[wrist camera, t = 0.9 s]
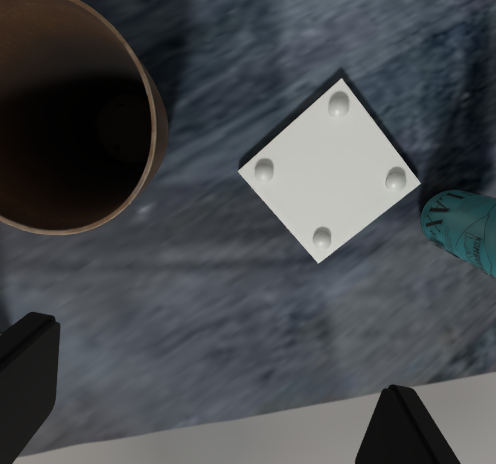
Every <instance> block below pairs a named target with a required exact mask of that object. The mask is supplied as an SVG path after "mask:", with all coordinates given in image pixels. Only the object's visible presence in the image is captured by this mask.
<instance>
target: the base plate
mask: <svg viewBox="0 0 496 464" xmlns="http://www.w3.org/2000/svg"><path fill="white" fill-rule="evenodd" d="M238 172H239V173H240V174H241V176H242V177H243V178H244V179H245V180H246V181H247V182H248V184H249V185H250V186H251V187H252V188H253V189H254V190H255V192H256V193H257V194H258V195H259V196H260V197H261V198H262V200H263V201H264V202H265V203H266V204H267V205H268V206H269V208H270V209H271V210H272V211H273V212H274V213H275V214H276V216H277V217H278V218H279V219H280V220H281V221H282V222H283V224H284V225H285V226H286V227H287V228H288V229H289V230H290V232H291V233H292V234H293V235H294V236H295V237H296V238H297V240H298V241H299V242H300V243H301V244H302V245H303V246H304V248H305V249H306V250H307V251H308V252H309V253H310V254H311V256H312V257H313V258H314V259H315V260H316V261H317V262H318V263H320V262H321V261H322V260H324V259H325V258H326V257H327V256H329V255H330V254H331V253H332V252H334V251H335V250H336V249H338V248H339V247H340V246H341V245H343V244H344V243H345V242H347V241H348V240H349V239H350V238H352V237H353V236H354V235H356V234H357V233H358V232H359V231H361V230H362V229H363V228H364V227H366V226H367V225H368V224H370V223H371V222H372V221H373V220H375V219H376V218H377V217H379V216H380V215H381V214H382V213H384V212H385V211H386V210H388V209H389V208H390V207H391V206H393V205H394V204H395V203H396V202H398V201H399V200H400V199H402V198H403V197H404V196H405V195H407V194H408V193H409V192H411V191H412V190H413V189H414V188H416V187H417V186H418V185H419V184H421V183H420V182H419V180H418V179H417V178H416V176H415V175H414V174H413V172H412V171H411V170H410V168H409V167H408V166H407V164H406V163H405V162H404V160H403V159H402V158H401V156H400V155H399V154H398V152H397V151H396V150H395V148H394V147H393V146H392V144H391V143H390V142H389V140H388V139H387V138H386V136H385V135H384V134H383V132H382V131H381V130H380V128H379V127H378V126H377V124H376V123H375V122H374V120H373V119H372V118H371V116H370V115H369V114H368V113H367V111H366V110H365V109H364V107H363V106H362V105H361V103H360V102H359V101H358V99H357V98H356V97H355V95H354V94H353V93H352V91H351V90H350V89H349V87H348V86H347V85H346V83H345V82H344V81H343V79H342V78H341V79H340V80H339V81H338V82H336V83H335V84H334V85H333V86H332V87H331V88H330V89H329V90H328V91H326V92H325V93H324V94H323V95H322V96H321V97H320V98H319V99H317V100H316V101H315V102H314V103H313V104H312V105H311V106H310V107H309V108H307V109H306V110H305V111H304V112H303V113H302V114H301V115H300V116H299V117H297V118H296V119H295V120H294V121H293V122H292V123H291V124H290V125H289V126H287V127H286V128H285V129H284V130H283V131H282V132H281V133H280V134H279V135H277V136H276V137H275V138H274V139H273V140H272V141H271V142H270V143H269V144H267V145H266V146H265V147H264V148H263V149H262V150H261V151H260V152H259V153H257V154H256V155H255V156H254V157H253V158H252V159H251V160H250V161H248V162H247V163H246V164H245V165H244V166H243V167H242V168H241V169H240V170H238Z"/></svg>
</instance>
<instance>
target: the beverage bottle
mask: <svg viewBox="0 0 496 464" xmlns="http://www.w3.org/2000/svg"><path fill="white" fill-rule="evenodd" d="M464 191H465V190H461V191H460V189H458V190H457V189H455V190H450V189H449V191H443V192H441V193H439V194H437V195H435V196H434V197H432V198H431V199H430V200H429V201H428V202H427V204H426V205H425V207H424V208H423V211H422V214H421V228H422V231H423V232H424V234H425V235H426V237H427V238H428V239H429V241H430V240H431V241H432V242H434V243H435V245H436V244H437V245H436V246H438V247H439V248H442V247H443V249H444V250H445V249H446V250H447V252H448V251H449V252H450V254H453V255H454V256H456V255H457V256H456V257H458V256H459V257H460V258H462V259H464V260H466V261H467V262H469V263H471V264H472V265H473V266H474V265H475V267H478V268H480V269H481V270H483V271H485V272H483V273H485V274H487V273H489V274H491V275H490V276H493V277H496V198H494V199H493V198H491V196H490V197H489V196H485V195H484V194H482V195H484V196H481V195H480V193H479V194H478V193H474V192H470V193H468V192H469V191H467V190H466V192H464ZM473 193H474V194H473ZM449 252H448V253H449ZM459 257H458V258H459ZM471 264H470V265H471ZM481 270H480V271H481ZM486 272H487V273H486ZM493 277H492V278H493ZM495 280H496V279H495Z"/></svg>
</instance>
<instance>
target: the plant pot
mask: <svg viewBox="0 0 496 464" xmlns="http://www.w3.org/2000/svg"><path fill="white" fill-rule="evenodd" d="M119 104H122V105H123V107H120V109H119ZM151 132H152V136H151ZM168 138H169V126H168V118H167V114H166V110H165V106H164V103H163V101H162V98H161V96H160V93H159V91H158V89H157V87H156V85H155V83H154V81H153V80H152V78H151V76H150V75H149V73H148V71H147V70H146V68H145V67H144V65H143V64H142V62H141V61H140V60H139V58H138V57H137V55H136V54H135V53H134V51H133V50H132V48H131V47H130V46H129V44H128V43H127V42H126V40H125V39H124V38H123V37H122V35H121V34H120V33H119V32H118V31H117V30H116V29H115V28H114V26H113V25H112V24H110V23H109V22H108V21H107V20H106V19H105V18H104V17H103V16H102V15H101V14H99V13H98V12H97V11H95V10H94V9H93V8H91V7H90V6H88V5H87V4H85V3H84V2H82V1H80V0H0V221H2V222H4V223H6V224H9V225H11V226H13V227H16V228H19V229H22V230H25V231H29V232H33V233H39V234H47V235H67V234H75V233H80V232H84V231H87V230H90V229H93V228H96V227H98V226H100V225H102V224H104V223H106V222H108V221H109V220H111V219H112V218H114V217H115V216H117V215H118V214H119V213H120V212H121V211H123V210H124V209H125V208H126V207H127V206H128V205H129V204H130V203H131V202H132V201H133V200H134V199H135V198H136V197H137V196H138V195H139V194H140V193H141V192H142V191H143V190H144V189H145V187H146V186H147V185H148V184H149V182H150V181H151V180H152V178H153V177H154V175H155V174H156V172H157V170H158V169H159V167H160V165H161V163H162V161H163V158H164V155H165V153H166V149H167V145H168ZM116 146H119V147H120V148H121V149H120V150H116V148H115V147H116Z"/></svg>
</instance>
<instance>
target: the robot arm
mask: <svg viewBox="0 0 496 464" xmlns="http://www.w3.org/2000/svg"><path fill="white" fill-rule="evenodd" d="M59 340H60V324H59V323H58V322H56V321H55V317H54V316H52V315H47V314H42V313H37V312H30V313H28V314H27V315H26V316H24V317H23V318H22V319H20V320H19V321H18V322H16V323H15V324H14V325H12V326H11V327H10V328H8V329H7V330H6V331H4V332H3V333H2V334H1V335H0V464H12V463H13V462H14V461H15V459H16V458H17V457H18V455H19V454H20V453H21V451H22V450H23V449H24V447H25V446H26V445H27V443H28V442H29V441H30V439H31V438H32V437H33V435H34V434H35V433H36V432H37V430H38V429H39V428H40V426H41V425H42V424H43V422H44V421H45V420H46V418H47V417H48V416H49V414H50V413H51V411H52V409H53V407H54V404H55V400H56V386H57V371H58V355H59ZM355 464H460V462H459V460H458V459H457V457H456V456H455V454H454V452H453V451H452V449H451V447H450V446H449V444H448V443H447V441H446V440H445V438H444V436H443V435H442V433H441V431H440V430H439V428H438V427H437V425H436V424H435V422H434V420H433V419H432V417H431V415H430V414H429V412H428V411H427V409H426V407H425V406H424V404H423V403H422V401H421V400H420V398H419V396H418V395H417V393H416V392H415V390H414V389H412V388H408V387H403V386H398V385H394V384H393V385H390V386H389V387H388V389H386V388H385V389H383V390H382V392H381V395H380V397H379V400H378V402H377V405H376V408H375V410H374V413H373V415H372V418H371V421H370V423H369V425H368V428H367V431H366V433H365V436H364V438H363V441H362V443H361V446H360V449H359V451H358V454H357V457H356V460H355Z"/></svg>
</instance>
